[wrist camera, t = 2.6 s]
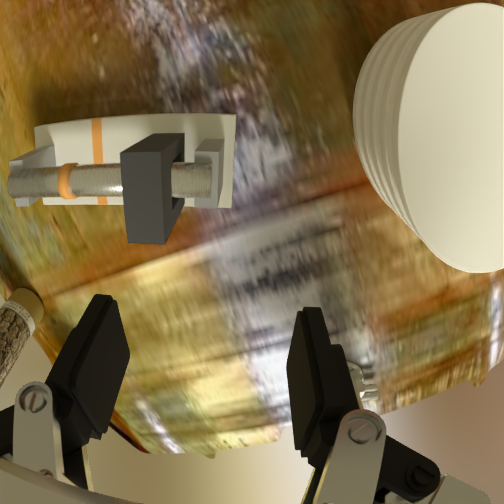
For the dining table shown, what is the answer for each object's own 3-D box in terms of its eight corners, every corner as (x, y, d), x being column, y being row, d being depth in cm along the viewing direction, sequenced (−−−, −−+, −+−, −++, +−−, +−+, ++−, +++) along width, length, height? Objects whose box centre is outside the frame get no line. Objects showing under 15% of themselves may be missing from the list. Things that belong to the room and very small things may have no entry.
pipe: (214, 159, 26) (210, 168, 24) (213, 191, 28) (209, 203, 25) (21, 166, 25) (4, 175, 23) (25, 192, 27) (9, 203, 24)
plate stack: (533, 73, 24) (589, 86, 14) (488, 240, 38) (531, 282, 28) (372, -20, 22) (420, -51, 12) (327, 205, 36) (356, 256, 26)
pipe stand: (236, 114, 30) (232, 122, 23) (232, 203, 35) (227, 235, 28) (40, 125, 29) (0, 139, 22) (49, 200, 34) (15, 227, 27)
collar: (184, 133, 27) (160, 151, 20) (184, 203, 30) (165, 244, 23) (153, 133, 27) (119, 152, 19) (155, 202, 30) (127, 242, 23)
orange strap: (101, 118, 28) (61, 131, 21) (107, 204, 33) (75, 237, 26) (91, 119, 28) (51, 132, 21) (98, 204, 33) (65, 236, 26)
